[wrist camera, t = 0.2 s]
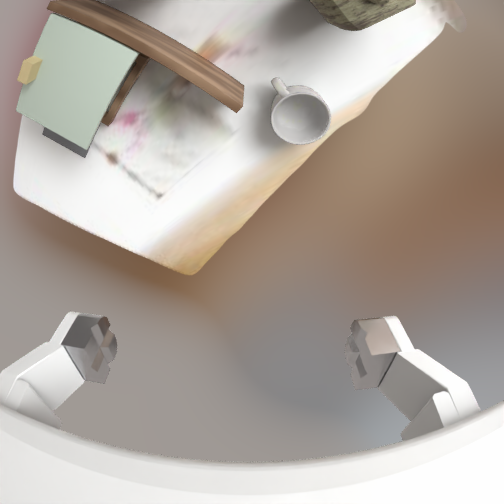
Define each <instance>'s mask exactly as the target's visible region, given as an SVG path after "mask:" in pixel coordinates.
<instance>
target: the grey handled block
mask: <svg viewBox="0 0 504 504" xmlns="http://www.w3.org/2000/svg"><path fill="white" fill-rule="evenodd" d="M309 1H310V2H311V3H312V4H313V5H314V7H315V8H316V9H317V10H318V11H319V12H320V14H321V15H322V16H323V17H324V18H325V20H326V21H327V22H328V23H330V24H332V25H335V26H337V27H339V28H341V29H344V30H350V31H358V30H362V29H365V28H367V27H369V26H371V25H374V24H376V23H378V22H380V21H382V20H384V19H386V18H388V17H391V16H393V15H395V14H397V13H399V12H401V11H403V10H405V9H407V8H410V7H411V6H413V5H415V4H416V0H309Z"/></svg>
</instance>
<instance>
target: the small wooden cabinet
mask: <svg viewBox="0 0 504 504" xmlns="http://www.w3.org/2000/svg"><path fill="white" fill-rule="evenodd" d="M47 9H48V10H51V11H53V12H56V13H58V14H61V15H63V16H66V17H68V18H71V19H73V20H75V21H78V23H80V24H83V25H85V26H87V27H89V28H92V29H94V30H96V31H98V32H100V33H102V34H104V35H106V36H108V37H110V38H112V39H114V40H116V41H118V42H120V43H122V44H124V45H126V46H128V47H130V48H132V49H134V50H135V51H137V52H139V55H138V56H137V58H136V59H135V62H137V63H136V64H135V66H134V67H133V69H132V71H131V72H130V74H129V76H128V77H127V79H126V81H125V82H124V84H123V86H122V88H121V89H120V91H119V93H118V95H117V96H116V98H115V100H114V102H113V104H112V106H111V108H110V110H109V111H108V112H107V111H106V112H105V114H104V116H103V118H102V120H101V122H102V123H104V124H105V125H107V126H109V125H110V124H111V123H112V122H113V120H114V118H115V116H116V114H117V112H118V110H119V109H120V107H121V105H122V103H123V102H124V100H125V98H126V96H127V95H128V93H129V91H130V90H131V88H132V86H133V85H134V83H135V81H136V80H137V78H138V77H139V75H140V73H141V72H142V70H143V69H144V67H145V66H146V64H147V63H148V61H149V60H150V58H152V59H153V60H155V61H157V62H159V63H160V64H162V65H164V66H165V67H167V68H169V69H170V70H172V71H174V72H175V73H177V74H179V75H180V76H182V77H183V78H185V79H187V80H188V81H190V82H191V83H193V84H194V85H196V86H198V87H199V88H201V89H202V90H204V91H205V92H207V93H208V94H210V95H211V96H213V97H214V98H216V99H217V100H219V101H220V102H221V103H223V104H224V105H226V106H227V107H229V108H230V109H231V110H233V111H234V112H236V113H237V112H238V111H239V110H240V109H241V108H242V107H243V96H244V85H242V84H241V83H240V82H238V81H237V80H236V79H234V78H233V77H231V76H230V75H229V74H227V73H226V72H224V71H223V70H221V69H220V68H218V67H217V66H215V65H214V64H212V63H211V62H209V61H208V60H206V59H205V58H203V57H202V56H200V55H199V54H197V53H195V52H194V51H192V50H191V49H189V48H187V47H186V46H184V45H182V44H181V43H179V42H177V41H176V40H174V39H172V38H171V37H169V36H167V35H165V34H164V33H162V32H160V31H158V30H156V29H155V28H153V27H151V26H149V25H147V24H145V23H143V22H141V21H139V20H137V19H135V18H133V17H131V16H129V15H127V14H125V13H123V12H121V11H119V10H117V9H114V8H112V7H110V6H108V5H105V4H103V3H101V2H98V1H96V0H56V1H51V2H50V3H49V5H48V7H47Z"/></svg>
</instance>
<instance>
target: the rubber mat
mask: <svg viewBox="0 0 504 504" xmlns="http://www.w3.org/2000/svg"><path fill="white" fill-rule="evenodd" d="M98 127H99V126H98ZM97 130H98V128H97ZM96 132H97V131H96ZM95 134H96V133H95ZM43 135H45V136H46V137H48V138H50V139H52V140H54V141H55V142H57V143H59V144H61V145H62V146H64V147H66V148H68V149H70V150H71V151H73V152H75V153H77V154H79V155H80V156H82V157H84V158H85V157H86V154H87V152H88V150H89V148H88V149H87V150H86V149H84V148H82V147H80V146H79V145H77V144H75V143H73V142H71V141H70V140H68V139H66V138H64V137H62V136H61V135H59V134H57V133H55V132H53V131H52V130H50V129H48V128H46V127H45V128H44V131H43ZM94 136H95V135H94ZM93 138H94V137H93ZM92 140H93V139H92ZM91 143H92V142H91ZM90 145H91V144H90ZM89 147H90V146H89Z"/></svg>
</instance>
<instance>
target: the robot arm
mask: <svg viewBox="0 0 504 504" xmlns="http://www.w3.org/2000/svg"><path fill="white" fill-rule="evenodd" d="M109 327H110V323H109V321H108V318H107V317H105V316H99V315H92V314H84V313H76V312H69V313H67V315H66V316H65V318H64V319H63V321H62V323H61V324H60V325H59V327H58V329H57V330H56V332H55V333H54V335H53V337H52V338H51V340H50V342H45V343H44V344H42V345H41V346H39V347H38V348H36V349H34V350H33V351H31V352H30V353H28V354H27V355H25V356H24V357H22V358H21V359H19V360H18V361H16V362H15V363H13V364H12V365H10V366H9V367H7V368H6V369H4V370H3V371H2V372H1V374H0V504H504V400H503V401H502V402H500V403H498V404H496V405H494V406H492V407H490V408H488V409H486V410H484V411H482V412H481V410H480V408H479V406H478V404H477V402H476V400H475V397H474V396H473V393H472V391H471V390H470V388H469V385H468V383H467V382H465V381H464V380H462V379H461V378H459V377H458V376H457V375H455V374H454V373H452V372H451V371H449V370H448V369H447V368H445V367H444V366H442V365H441V364H439V363H438V362H436V361H435V360H433V359H432V358H430V357H429V356H427V355H426V354H425V353H423V352H422V351H420V350H418V349H416V350H415V349H414V347H413V345H412V344H411V342H410V340H409V338H408V336H407V334H406V332H405V330H404V329H403V327H402V325H401V323H400V321H399V319H398V318H397V317H396V316H389V317H382V318H368V319H357V320H354V321H353V323H352V325H351V331H352V334H351V335H350V336H349V337H348V338H347V341H346V344H345V356H346V361H347V364H348V365H349V366H350V367H351V368H353V370H352V372H351V378H352V381H353V384H354V388H355V390H361V389H369V388H377V387H378V389H379V390H380V391H381V392H382V393H383V394H384V395H385V396H386V397H387V398H388V399H389V400H390V401H391V402H392V403H393V404H394V405H395V406H396V407H397V408H398V409H399V410H400V411H401V412H402V413H403V414H404V415H405V416H406V417H407V418H408V419H409V420H410V421H411V422H410V423H409V425H408V426H407V427H406V428H405V429H404V430H403V431H402V433H401V437H402V440H403V441H401V442H398V443H393V444H389V445H385V446H381V447H377V448H373V449H368V450H363V451H358V452H353V453H348V454H341V455H335V456H328V457H321V458H313V459H302V460H290V461H272V462H226V461H208V460H195V459H186V458H177V457H169V456H162V455H156V454H150V453H145V452H139V451H134V450H130V449H125V448H121V447H116V446H112V445H108V444H105V443H101V442H97V441H94V440H90V439H87V438H83V437H80V436H77V435H74V434H71V433H68V432H65V431H62V430H60V427H61V424H62V422H61V420H60V419H59V418H58V417H57V416H56V415H55V414H54V413H53V411H54V410H55V409H56V408H58V407H59V406H60V405H61V404H62V403H63V402H64V401H65V400H66V399H67V398H68V397H69V396H70V395H71V394H72V393H73V392H74V391H75V390H76V389H78V388H79V387H80V386H81V385H82V384H83V383H84V382H85V381H84V380H86V381H92V382H97V383H103V384H104V383H105V382H106V379H107V376H108V374H109V371H110V367H109V363H110V362H111V361H113V360H114V358H115V355H116V352H117V341H116V337H115V335H114V334H113V333H112V332H111V331H110V330H109Z"/></svg>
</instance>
